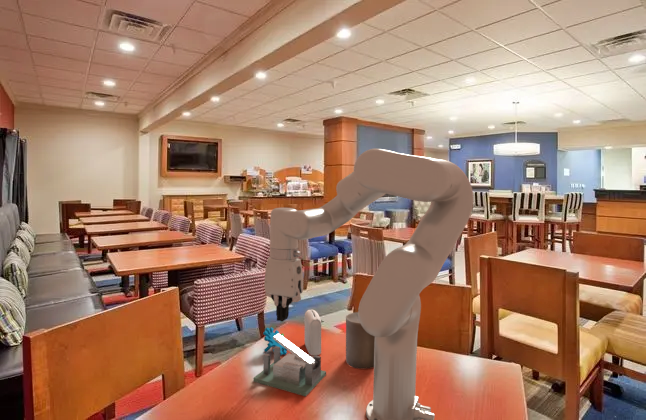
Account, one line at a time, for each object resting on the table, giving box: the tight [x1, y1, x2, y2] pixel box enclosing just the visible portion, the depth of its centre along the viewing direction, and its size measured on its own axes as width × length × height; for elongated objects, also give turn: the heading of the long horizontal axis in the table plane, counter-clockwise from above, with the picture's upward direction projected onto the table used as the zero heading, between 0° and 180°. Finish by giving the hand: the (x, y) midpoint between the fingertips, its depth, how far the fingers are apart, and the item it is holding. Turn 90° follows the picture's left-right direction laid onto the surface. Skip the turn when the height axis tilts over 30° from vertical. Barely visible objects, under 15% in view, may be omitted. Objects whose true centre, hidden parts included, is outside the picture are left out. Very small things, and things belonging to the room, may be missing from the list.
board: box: [252, 361, 327, 397], centre depth 106 cm, size 16×12×1 cm
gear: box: [262, 327, 288, 356], centre depth 122 cm, size 11×6×10 cm
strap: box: [273, 332, 318, 367], centre depth 105 cm, size 14×3×1 cm, turn 66°
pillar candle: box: [345, 311, 375, 370], centre depth 115 cm, size 10×10×15 cm
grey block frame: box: [262, 346, 322, 386], centre depth 105 cm, size 15×8×6 cm, turn 64°
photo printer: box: [304, 309, 322, 356], centre depth 124 cm, size 10×4×12 cm, turn 13°
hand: (282, 319), depth 106 cm, fingers closed
